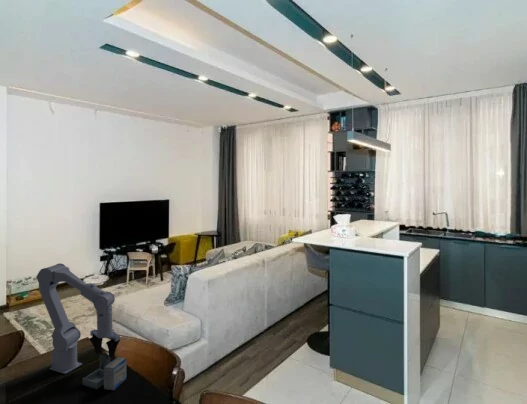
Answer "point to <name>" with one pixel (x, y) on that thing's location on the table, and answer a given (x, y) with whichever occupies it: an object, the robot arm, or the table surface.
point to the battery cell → (104, 359)
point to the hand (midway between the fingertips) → (105, 354)
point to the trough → (94, 379)
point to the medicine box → (115, 373)
